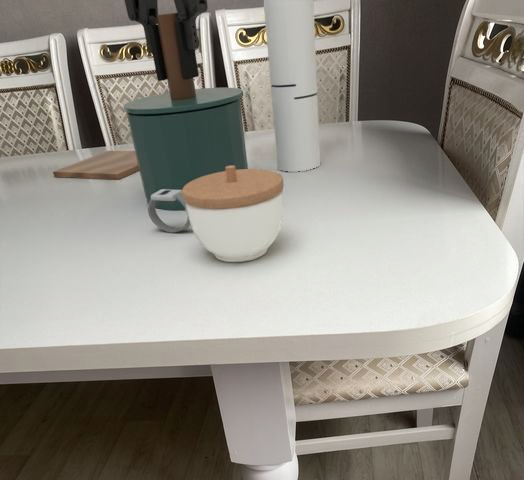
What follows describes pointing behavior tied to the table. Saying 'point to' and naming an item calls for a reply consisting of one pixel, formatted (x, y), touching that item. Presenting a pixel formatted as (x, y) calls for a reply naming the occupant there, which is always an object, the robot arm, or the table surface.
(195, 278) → the table surface
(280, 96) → the cylindrical container
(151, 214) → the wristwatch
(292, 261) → the table surface
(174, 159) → the canister
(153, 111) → the lid
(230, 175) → the trinket box
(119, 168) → the board
